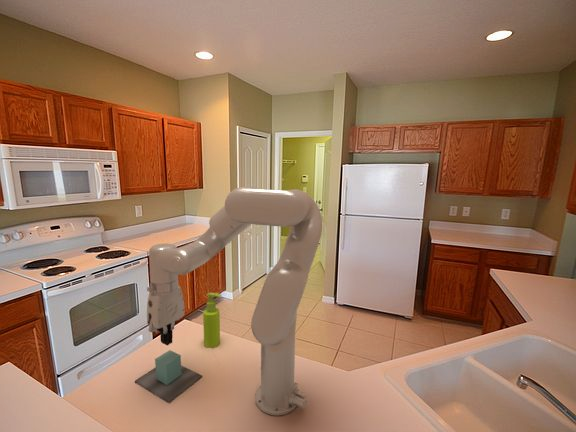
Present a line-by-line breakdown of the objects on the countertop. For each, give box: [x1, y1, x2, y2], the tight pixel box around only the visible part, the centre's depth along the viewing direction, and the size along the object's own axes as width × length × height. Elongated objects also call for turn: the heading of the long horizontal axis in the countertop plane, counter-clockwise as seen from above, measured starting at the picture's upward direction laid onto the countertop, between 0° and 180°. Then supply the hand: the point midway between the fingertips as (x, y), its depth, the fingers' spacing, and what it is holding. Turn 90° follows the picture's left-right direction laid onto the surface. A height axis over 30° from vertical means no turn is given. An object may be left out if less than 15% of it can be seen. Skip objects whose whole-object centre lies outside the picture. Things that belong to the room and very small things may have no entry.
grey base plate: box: [134, 364, 203, 404], centre depth 84 cm, size 16×12×7 cm
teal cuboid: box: [154, 349, 182, 385], centre depth 84 cm, size 5×5×7 cm
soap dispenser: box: [202, 292, 222, 349], centre depth 103 cm, size 6×7×20 cm
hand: (166, 342), depth 83 cm, fingers closed
